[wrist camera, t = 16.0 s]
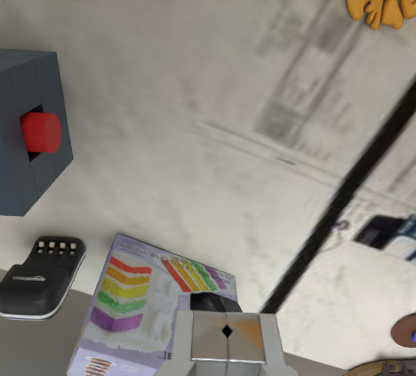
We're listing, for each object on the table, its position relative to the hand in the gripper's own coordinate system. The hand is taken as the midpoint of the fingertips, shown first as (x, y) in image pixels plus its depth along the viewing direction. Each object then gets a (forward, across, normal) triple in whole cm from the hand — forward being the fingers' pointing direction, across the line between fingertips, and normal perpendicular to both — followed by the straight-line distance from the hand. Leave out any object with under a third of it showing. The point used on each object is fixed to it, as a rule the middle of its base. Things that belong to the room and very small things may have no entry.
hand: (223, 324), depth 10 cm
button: (+24, +17, +3) cm, 29 cm away
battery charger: (+29, +20, +22) cm, 42 cm away
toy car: (+29, -35, +36) cm, 58 cm away
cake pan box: (+29, +4, +25) cm, 39 cm away
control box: (+29, +20, +3) cm, 35 cm away
